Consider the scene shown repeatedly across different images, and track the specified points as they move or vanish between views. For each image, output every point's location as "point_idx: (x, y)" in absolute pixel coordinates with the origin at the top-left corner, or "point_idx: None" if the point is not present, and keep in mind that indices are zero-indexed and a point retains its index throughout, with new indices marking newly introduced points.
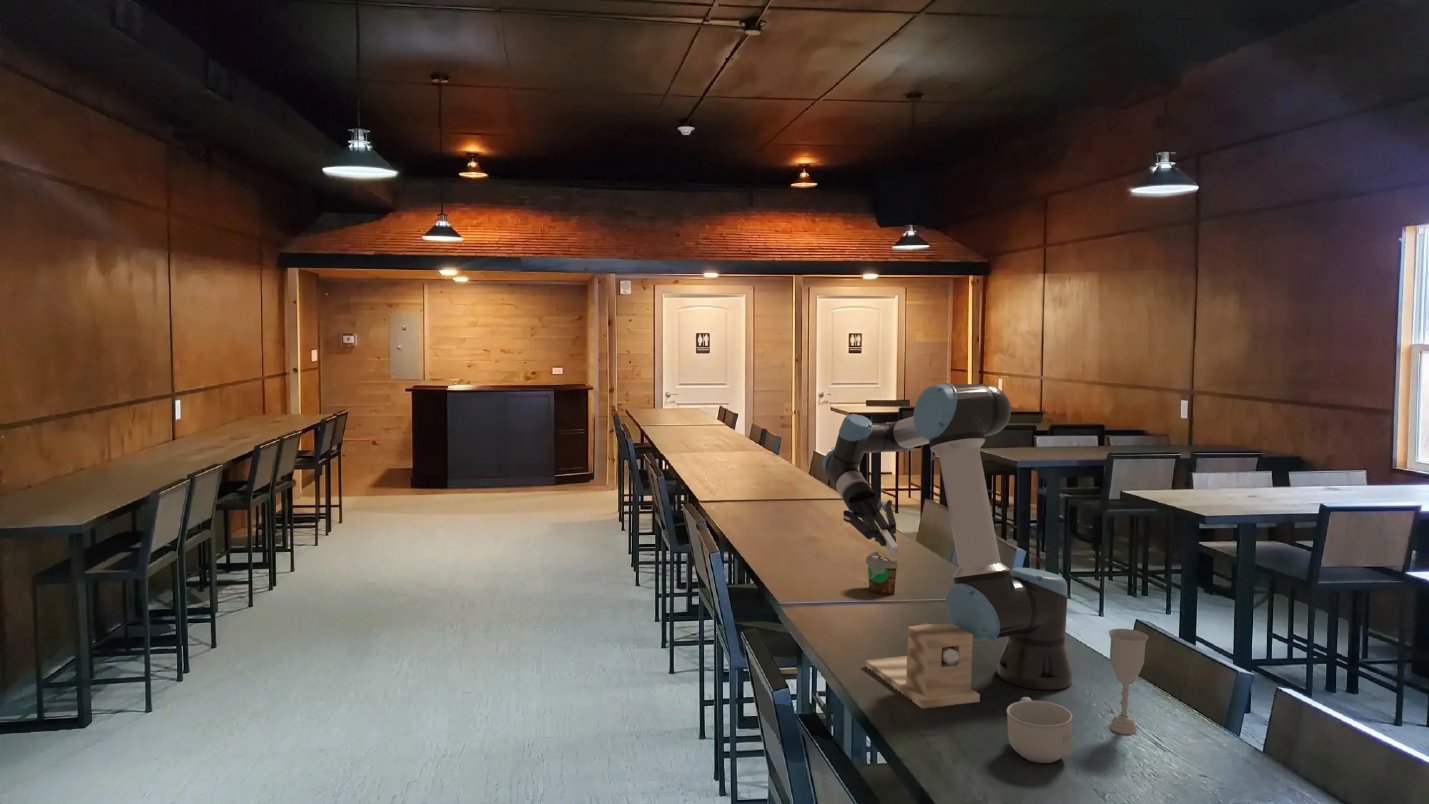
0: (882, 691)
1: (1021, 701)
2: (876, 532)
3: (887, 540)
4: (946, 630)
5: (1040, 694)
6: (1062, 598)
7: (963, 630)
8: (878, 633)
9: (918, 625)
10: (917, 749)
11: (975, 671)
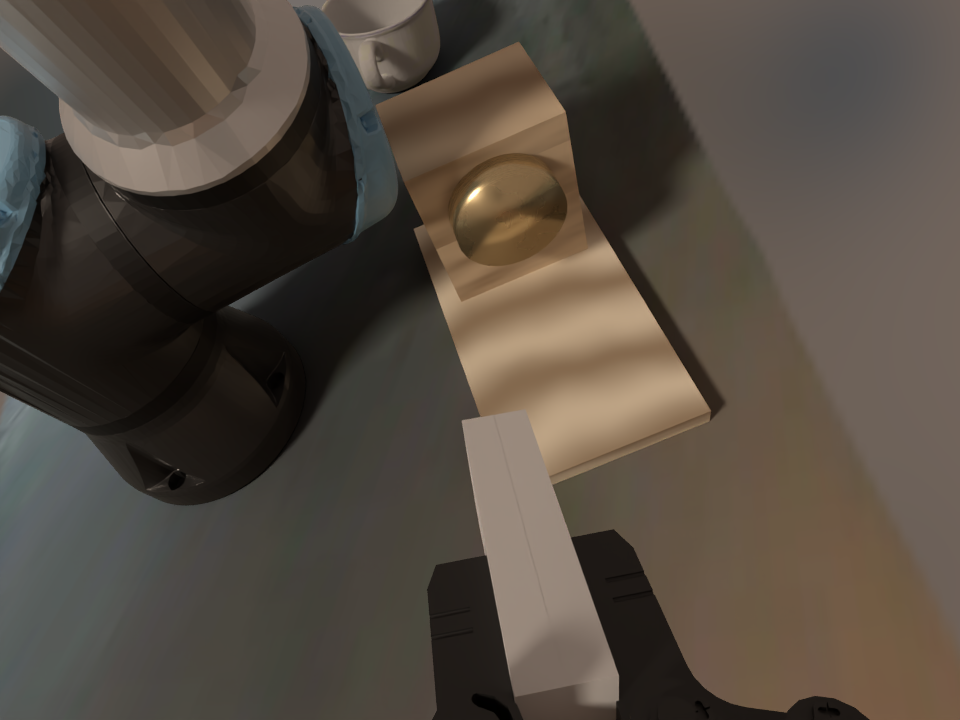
0: (656, 248)
1: (383, 28)
2: (692, 694)
3: (552, 490)
4: (443, 113)
5: (263, 308)
6: None
7: (389, 127)
8: None
9: (520, 171)
10: (603, 35)
11: (352, 434)
